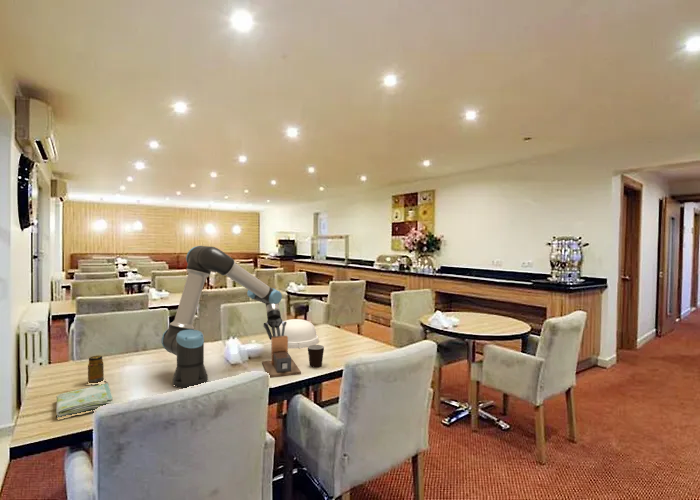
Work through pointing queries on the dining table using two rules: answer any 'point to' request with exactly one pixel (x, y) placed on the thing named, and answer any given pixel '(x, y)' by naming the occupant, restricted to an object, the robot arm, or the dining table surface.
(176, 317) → the robot arm
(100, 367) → the condiment
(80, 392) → the towel
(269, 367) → the base board
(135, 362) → the dining table surface
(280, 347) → the wooden upright block
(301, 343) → the dome cover
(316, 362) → the coffee mug
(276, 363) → the block
